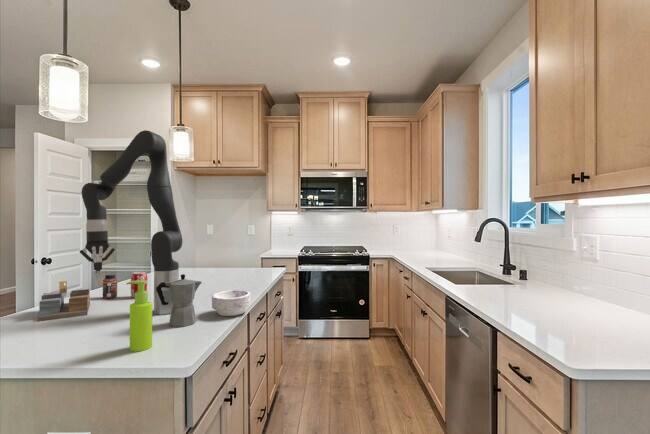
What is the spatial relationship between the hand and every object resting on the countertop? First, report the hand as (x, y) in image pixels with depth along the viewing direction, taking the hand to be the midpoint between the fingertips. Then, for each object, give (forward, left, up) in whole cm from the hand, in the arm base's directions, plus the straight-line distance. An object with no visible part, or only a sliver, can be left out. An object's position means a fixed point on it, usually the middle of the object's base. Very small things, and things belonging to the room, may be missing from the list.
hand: (98, 271), depth 143 cm
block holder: (+2, +11, -16) cm, 19 cm away
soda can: (+15, -16, -16) cm, 27 cm away
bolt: (+2, +14, -9) cm, 17 cm away
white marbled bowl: (-36, -46, -16) cm, 61 cm away
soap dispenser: (-57, -12, -16) cm, 61 cm away
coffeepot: (-39, -26, -16) cm, 50 cm away
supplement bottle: (+21, -4, -16) cm, 27 cm away
